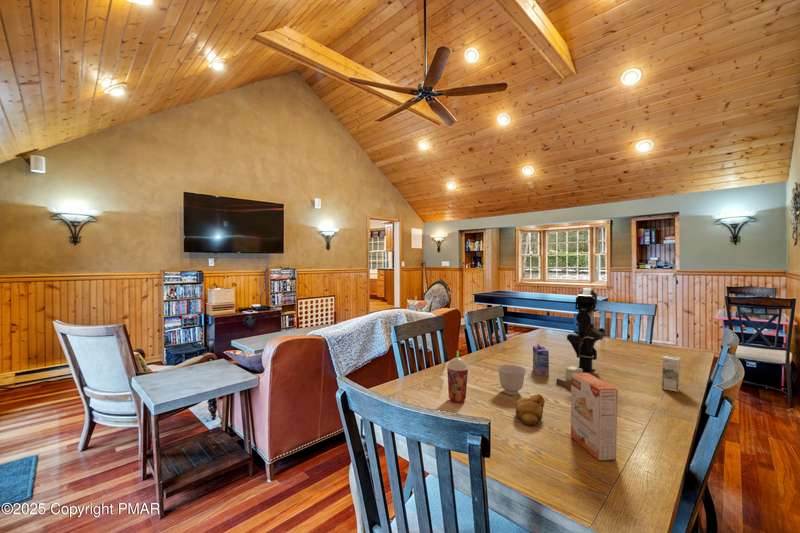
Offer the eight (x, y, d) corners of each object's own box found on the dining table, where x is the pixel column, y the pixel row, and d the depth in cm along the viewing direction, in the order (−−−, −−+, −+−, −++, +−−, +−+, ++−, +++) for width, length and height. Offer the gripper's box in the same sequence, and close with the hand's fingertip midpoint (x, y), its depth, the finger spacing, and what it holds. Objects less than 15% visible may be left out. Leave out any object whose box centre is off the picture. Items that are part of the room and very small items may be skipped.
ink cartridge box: (531, 369, 183) (532, 341, 183) (543, 369, 183) (543, 341, 182) (537, 375, 173) (537, 346, 173) (549, 376, 173) (549, 346, 173)
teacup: (528, 387, 157) (528, 365, 157) (524, 399, 144) (525, 375, 143) (500, 383, 162) (500, 361, 162) (494, 394, 149) (494, 371, 149)
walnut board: (569, 380, 168) (569, 374, 168) (590, 387, 159) (590, 380, 159) (556, 384, 162) (556, 378, 162) (577, 392, 154) (577, 385, 154)
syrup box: (679, 389, 156) (680, 356, 156) (678, 393, 152) (679, 359, 151) (663, 386, 160) (664, 354, 160) (661, 389, 156) (662, 356, 155)
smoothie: (469, 398, 145) (469, 349, 145) (466, 406, 137) (466, 354, 137) (448, 395, 148) (449, 347, 147) (444, 403, 140) (445, 352, 139)
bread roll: (539, 430, 119) (540, 406, 119) (510, 423, 124) (510, 400, 123) (545, 415, 130) (545, 393, 130) (517, 409, 135) (518, 388, 135)
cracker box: (569, 436, 114) (570, 372, 114) (587, 436, 115) (588, 372, 114) (596, 461, 100) (598, 388, 100) (617, 461, 101) (618, 388, 100)
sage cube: (571, 376, 164) (571, 366, 164) (582, 379, 160) (582, 368, 160) (565, 379, 161) (566, 368, 161) (576, 382, 157) (576, 370, 157)
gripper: (589, 326, 156) (589, 361, 156) (613, 322, 165) (612, 355, 166) (566, 322, 165) (565, 355, 166) (589, 318, 175) (589, 350, 175)
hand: (583, 354), depth 168 cm, fingers open, 9 cm apart
